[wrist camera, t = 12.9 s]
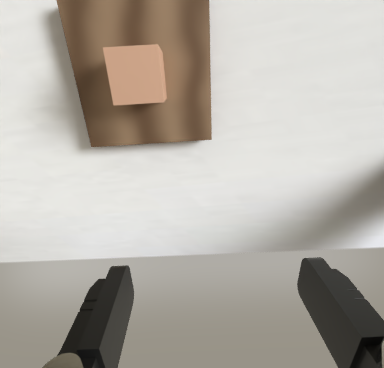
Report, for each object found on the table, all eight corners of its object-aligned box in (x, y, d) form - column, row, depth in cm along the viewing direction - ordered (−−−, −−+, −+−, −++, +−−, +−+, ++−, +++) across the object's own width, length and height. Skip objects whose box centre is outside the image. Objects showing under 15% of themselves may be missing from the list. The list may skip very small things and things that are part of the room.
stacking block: (162, 52, 26) (158, 44, 21) (166, 98, 28) (163, 102, 23) (118, 54, 26) (102, 47, 21) (126, 100, 28) (113, 105, 23)
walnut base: (206, -3, 26) (208, -11, 24) (209, 135, 33) (211, 139, 31) (66, 4, 26) (55, -4, 24) (97, 142, 33) (91, 147, 30)
